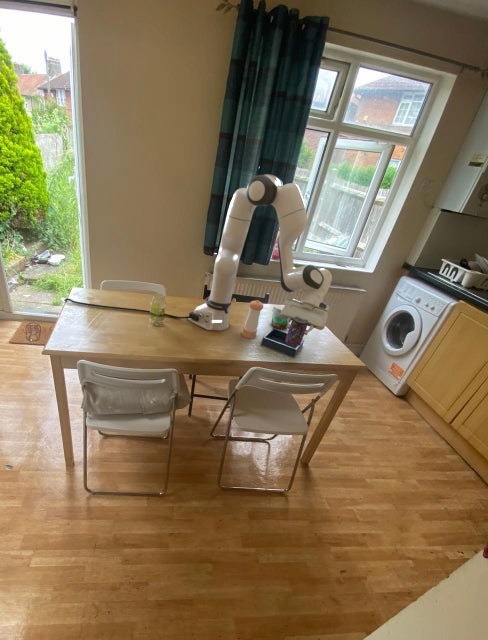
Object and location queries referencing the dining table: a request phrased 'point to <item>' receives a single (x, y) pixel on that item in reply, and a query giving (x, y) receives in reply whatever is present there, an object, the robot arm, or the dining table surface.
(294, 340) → the beverage can
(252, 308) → the pepper shaker
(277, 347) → the tray
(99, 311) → the dining table surface
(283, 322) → the food container
